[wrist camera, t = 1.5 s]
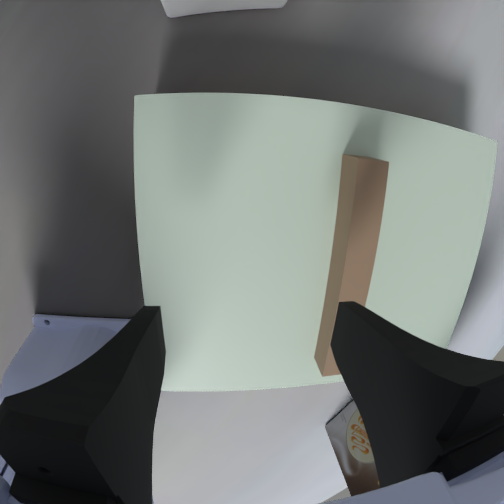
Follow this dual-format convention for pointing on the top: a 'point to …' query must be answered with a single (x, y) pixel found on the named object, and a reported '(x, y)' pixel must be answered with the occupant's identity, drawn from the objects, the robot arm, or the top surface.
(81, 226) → the top surface
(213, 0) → the medicine bottle
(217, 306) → the lid
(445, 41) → the top surface
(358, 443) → the coffee box
